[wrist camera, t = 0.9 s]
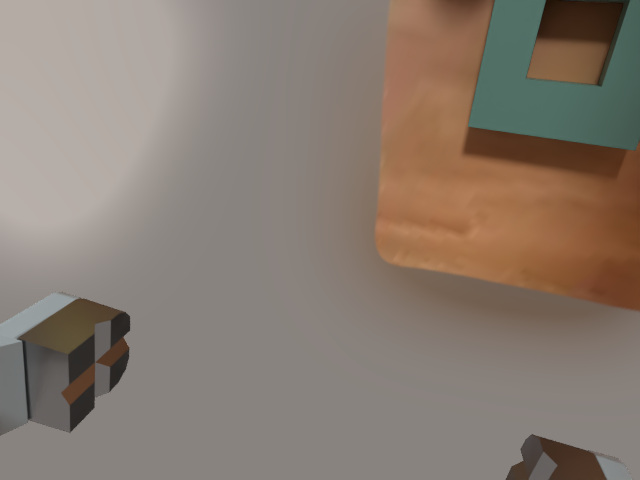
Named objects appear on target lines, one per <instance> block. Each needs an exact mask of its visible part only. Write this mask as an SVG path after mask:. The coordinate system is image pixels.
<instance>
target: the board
mask: <svg viewBox="0 0 640 480" xmlns="http://www.w3.org/2000/svg"><path fill="white" fill-rule="evenodd" d="M564 1H587V2H611V3H624V5H623V8H622V11H621V15H620V18H619V21H618V24H617V27H616V30H615V33H614V36H613V39H612V42H611V45H610V48H609V51H608V55H607V58H606V61H605V64H604V67H603V70H602V73H601V76H600V79H599V82H598V85H595V84H585V83H575V82H565V81H555V80H545V79H536V78H526V77H527V73H528V69H529V65H530V61H531V57H532V54H533V50H534V46H535V42H536V38H537V34H538V30H539V26H540V22H541V19H542V15H543V11H544V7H545V3H546V0H495V3H494V7H493V12H492V17H491V21H490V26H489V31H488V35H487V40H486V45H485V49H484V54H483V59H482V63H481V68H480V73H479V77H478V82H477V87H476V91H475V96H474V101H473V105H472V110H471V115H470V119H469V124H468V127H475V128H482V129H489V130H496V131H502V132H509V133H516V134H523V135H530V136H537V137H544V138H551V139H558V140H565V141H572V142H579V143H586V144H593V145H600V146H607V147H613V148H620V149H627V150H634V151H635V150H636V148H637V145H638V142H639V140H640V0H564Z"/></svg>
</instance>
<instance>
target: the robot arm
mask: <svg viewBox="0 0 640 480" xmlns="http://www.w3.org/2000/svg"><path fill="white" fill-rule="evenodd" d="M129 331H130V316H129V315H128V314H127V313H126V312H123V311H120V310H117V309H114V308H111V307H108V306H105V305H102V304H99V303H96V302H93V301H90V300H87V299H82V298H80V297H77V296H73V295H70V294H67V293H63V292H55V293H52V294H51V295H49V296H48V297H46V298H44V299H42V300H41V301H39V302H37V303H36V304H34V305H32V306H31V307H29V308H27V309H26V310H24V311H23V312H21V313H19V314H17V315H16V316H14V317H12V318H11V319H9V320H7V321H5V322H4V323H2V324H0V435H3V434H5V433H7V432H9V431H11V430H13V429H16V428H18V427H20V426H22V425H24V424H26V423H28V420H30V421H33V422H37V423H40V424H43V425H46V426H49V427H53V428H56V429H59V430H63V431H66V432H69V433H70V432H71V431H72V430H73V429H74V428H75V427H76V426H77V425H78V424H79V423H80V422H81V421H82V420H83V419H84V418H85V417H86V416H87V415H88V414H89V413H90V412H91V411H92V410H93V409H94V405H95V403H94V401H95V397H98V396H100V395H103V394H106V393H109V392H110V391H111V390H112V389H113V388H114V387H115V385H116V384H117V383H118V382H119V380H120V379H121V377H122V375H123V373H124V371H125V370H126V367H127V363H128V359H129V347H128V345H127V343H126V341H125V340H124V338H123V337H124V335H126V334H127V333H128V332H129ZM521 453H522V456H523V460H524V461H522V462H520V463H518V464H516V465H514V466H512V467H511V469H510V472H509V474H508V476H507V478H506V480H633V478H632V477H631V475H630V473H629V471H628V469H627V468H626V466H625V465H624V464H623V463H622V462H621V461H620V460H619V459H618V458H615V457H611V456H607V455H604V454H600V453H596V452H593V451H589V450H588V451H586V450H583V449H580V448H576V447H573V446H569V445H566V444H563V443H559V442H556V441H552V440H549V439H546V438H542V437H539V436H535V435H530V436H529V437H528V438H527V439H526V440H525V442H524V444H523V446H522V448H521Z"/></svg>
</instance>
